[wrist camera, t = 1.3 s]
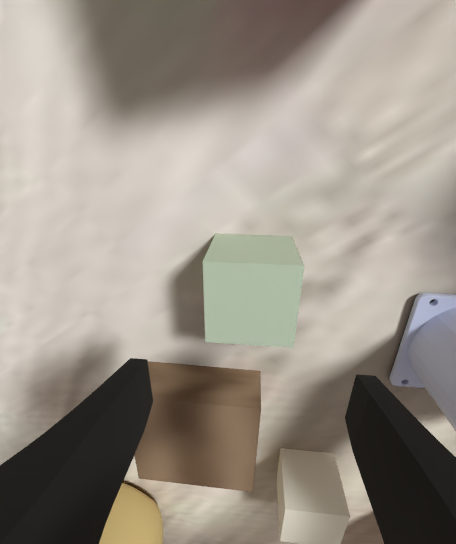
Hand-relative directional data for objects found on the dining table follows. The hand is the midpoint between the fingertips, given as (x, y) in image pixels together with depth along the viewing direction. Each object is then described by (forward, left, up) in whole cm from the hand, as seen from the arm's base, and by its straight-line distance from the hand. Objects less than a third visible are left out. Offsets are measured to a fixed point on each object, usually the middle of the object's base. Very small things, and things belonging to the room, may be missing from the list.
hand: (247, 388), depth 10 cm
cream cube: (-6, +21, -10) cm, 24 cm away
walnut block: (+4, +14, -11) cm, 18 cm away
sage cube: (0, 0, -10) cm, 10 cm away
